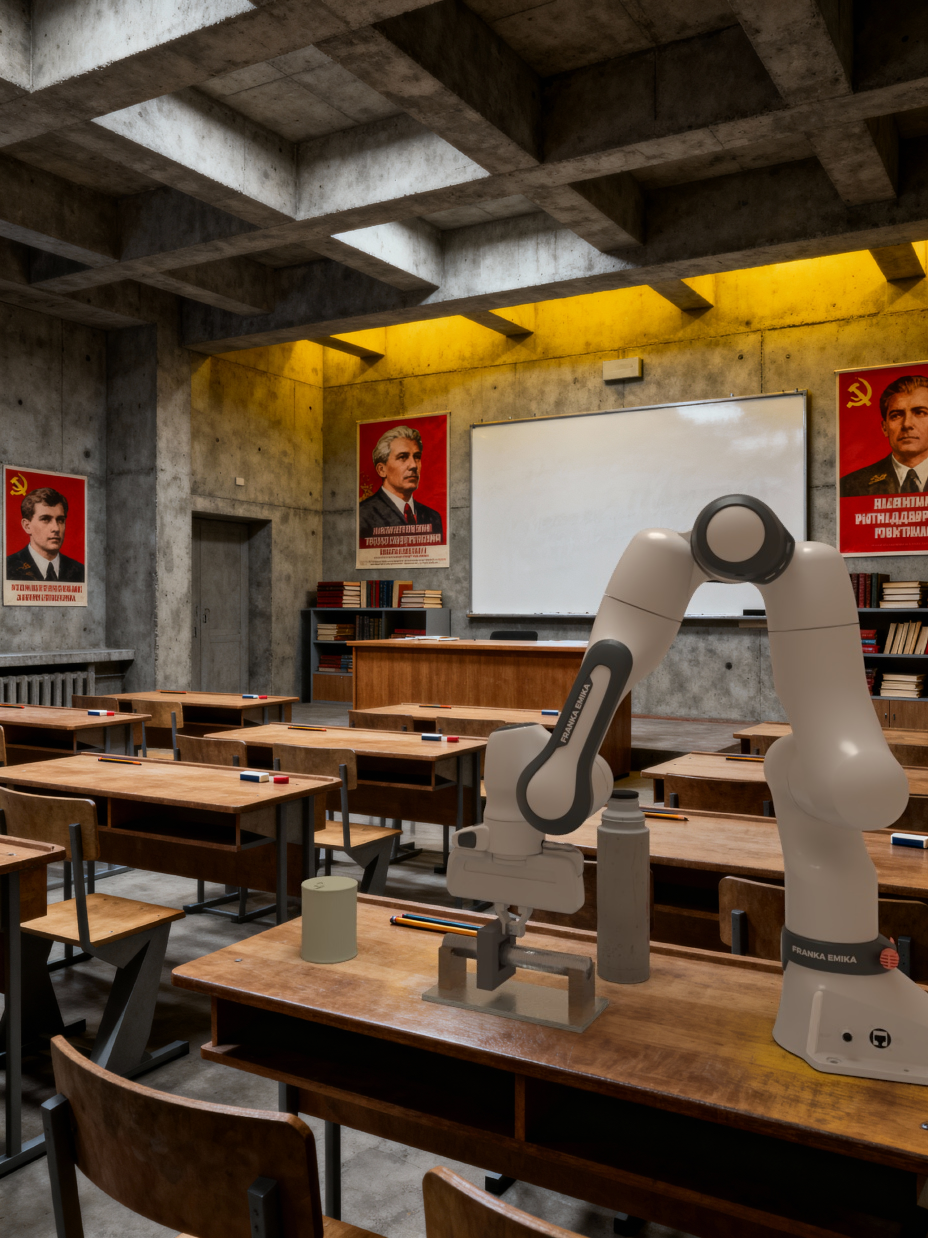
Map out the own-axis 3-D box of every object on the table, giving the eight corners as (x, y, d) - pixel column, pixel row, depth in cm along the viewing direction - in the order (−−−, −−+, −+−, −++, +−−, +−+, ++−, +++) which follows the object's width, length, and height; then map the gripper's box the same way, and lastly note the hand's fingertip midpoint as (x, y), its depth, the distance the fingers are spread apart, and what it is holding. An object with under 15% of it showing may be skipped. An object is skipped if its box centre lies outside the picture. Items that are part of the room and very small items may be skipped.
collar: (516, 973, 134) (516, 918, 135) (492, 991, 127) (492, 933, 127) (501, 970, 135) (501, 915, 136) (476, 988, 128) (476, 930, 129)
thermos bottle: (649, 967, 144) (649, 787, 145) (649, 985, 136) (649, 795, 137) (598, 963, 146) (598, 786, 147) (595, 981, 138) (595, 793, 139)
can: (288, 957, 148) (289, 882, 149) (325, 941, 156) (326, 870, 156) (332, 968, 143) (333, 890, 144) (369, 951, 151) (369, 878, 152)
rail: (609, 1004, 129) (609, 945, 129) (581, 1033, 119) (581, 969, 120) (458, 975, 140) (458, 920, 141) (421, 999, 131) (422, 941, 131)
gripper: (591, 840, 129) (591, 941, 128) (462, 826, 138) (461, 919, 138) (575, 849, 123) (574, 954, 123) (441, 833, 132) (440, 930, 132)
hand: (513, 935), depth 130 cm, fingers closed
